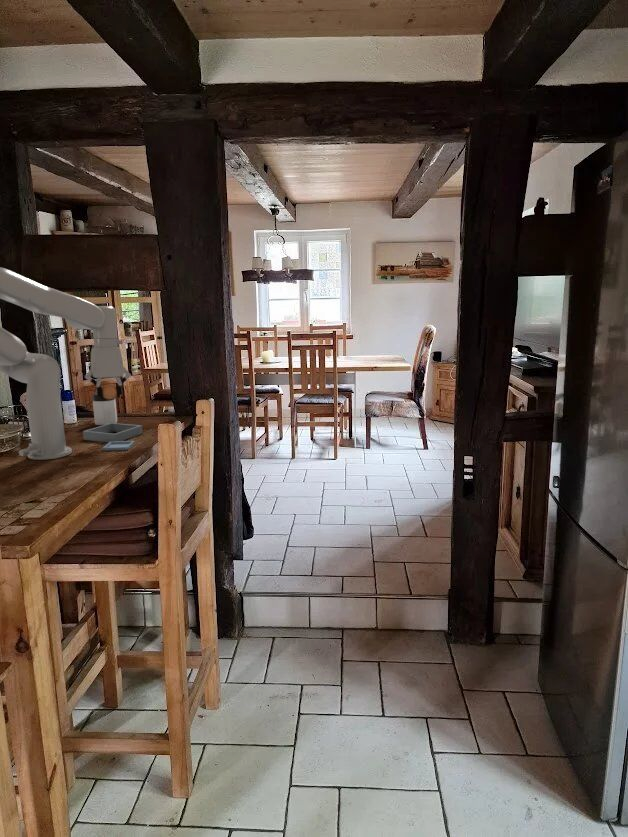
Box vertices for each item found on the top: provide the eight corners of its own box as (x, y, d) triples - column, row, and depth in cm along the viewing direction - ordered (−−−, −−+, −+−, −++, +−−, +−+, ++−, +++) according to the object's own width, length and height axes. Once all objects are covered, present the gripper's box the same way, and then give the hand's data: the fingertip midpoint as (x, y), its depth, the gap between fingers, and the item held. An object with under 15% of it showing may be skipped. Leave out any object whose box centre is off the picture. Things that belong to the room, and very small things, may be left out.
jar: (99, 426, 213) (96, 395, 210) (90, 423, 219) (87, 393, 216) (121, 422, 219) (119, 392, 216) (112, 419, 225) (110, 390, 222)
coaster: (127, 450, 179) (127, 447, 179) (102, 450, 179) (102, 447, 178) (134, 443, 187) (134, 440, 187) (110, 444, 186) (110, 441, 186)
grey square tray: (115, 443, 188) (114, 434, 188) (83, 439, 193) (82, 431, 193) (142, 433, 201) (142, 425, 200) (112, 430, 206) (111, 422, 205)
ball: (111, 400, 186) (109, 385, 185) (98, 399, 188) (97, 385, 187) (120, 398, 191) (119, 383, 190) (108, 397, 193) (107, 383, 192)
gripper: (131, 342, 193) (134, 394, 196) (77, 343, 185) (82, 397, 189) (134, 343, 186) (137, 397, 189) (79, 345, 179) (83, 401, 182)
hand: (109, 397), depth 189 cm, fingers closed on ball, 4 cm apart
